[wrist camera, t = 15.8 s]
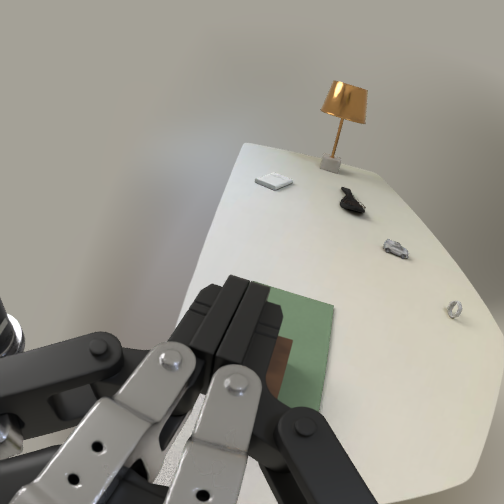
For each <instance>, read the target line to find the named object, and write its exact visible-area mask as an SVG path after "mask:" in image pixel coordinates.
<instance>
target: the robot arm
mask: <svg viewBox="0 0 504 504" xmlns="http://www.w3.org/2000/svg"><path fill="white" fill-rule="evenodd" d="M270 289H271V287H269V286H266V285H262V284H259V283H256V282H253V281H251V282H250V281H249V280H246V279H243V278H240V277H237V276H233V275H229V277H228V279H227V280H226V282H225V284H224V285H223V287H221V286H218V285H215V284H210V285H209V286H207V287H206V288H204V289H202V290H201V291H200V292H199V294H198V296H197V297H196V299H195V300H194V302H193V303H192V305H191V306H190V308H189V310H188V311H187V312H186V314H185V315H184V317H183V318H182V320H181V321H180V323H179V324H178V326H177V327H176V329H175V331H174V332H173V334H172V335H171V337H170V338H169V340H168V341H167V342H163V343H160V344H158V345H156V346H155V347H153V348H152V349H151V350H137V349H130V348H122V346H121V343H120V341H119V340H118V339H117V337H115V336H114V335H112V334H110V333H107V332H94V333H90V334H87V335H83V336H80V337H77V338H73V339H69V340H66V341H62V342H59V343H55V344H51V345H48V346H44V347H41V348H37V349H33V350H30V351H26V352H22V353H18V354H15V355H11V356H7V357H4V356H5V355H6V354H7V353H8V352H9V351H10V349H11V347H12V346H13V343H14V340H15V330H14V327H13V325H12V323H11V321H10V320H9V317H8V315H7V313H6V310H5V308H4V306H3V303H2V301H1V298H0V504H237V500H238V496H239V492H240V488H241V484H242V480H243V476H244V472H245V468H246V464H247V459H248V455H249V456H250V457H252V458H253V459H255V460H256V461H258V463H259V466H260V468H261V470H262V472H263V474H264V476H265V478H266V480H267V482H268V484H269V486H270V488H271V490H272V492H273V494H274V496H275V498H276V500H277V502H278V504H378V503H377V501H376V499H375V498H374V496H373V495H372V493H371V492H370V490H369V488H368V487H367V485H366V484H365V482H364V480H363V479H362V477H361V476H360V474H359V472H358V471H357V469H356V468H355V466H354V464H353V463H352V461H351V460H350V458H349V456H348V455H347V453H346V452H345V450H344V448H343V447H342V445H341V443H340V442H339V440H338V439H337V437H336V435H335V434H334V432H333V430H332V429H331V427H330V426H329V424H328V422H327V421H326V419H325V418H324V416H323V415H322V414H321V413H319V412H318V411H316V410H314V409H312V408H309V407H302V406H301V407H294V408H290V407H289V406H287V405H285V404H284V403H282V402H281V401H279V400H278V399H276V398H275V397H274V396H273V395H272V394H271V392H270V391H269V389H268V387H267V384H266V373H267V370H268V367H269V364H270V360H271V357H272V354H273V351H274V347H275V344H276V341H277V337H278V334H279V331H280V327H281V324H282V321H283V313H282V309H281V305H278V304H275V303H271V302H268V301H267V300H268V297H269V293H270ZM2 357H3V358H2ZM200 393H201V394H204V395H206V396H205V399H204V402H203V405H202V408H201V410H200V413H199V416H198V419H197V421H196V424H195V427H194V430H193V432H192V435H191V437H190V438H189V439H188V440H187V442H186V444H185V447H184V449H183V452H182V455H181V457H180V460H179V463H178V466H177V468H176V471H175V474H174V476H173V479H172V482H171V485H170V487H167V486H162V485H157V484H152V483H153V482H154V480H155V478H156V477H157V475H158V473H159V472H160V470H161V468H162V465H163V462H164V459H165V456H166V454H167V452H168V451H169V449H170V447H171V446H172V444H173V442H174V441H175V439H176V437H177V436H178V434H179V432H180V431H181V429H182V427H183V426H184V424H185V422H186V421H187V419H188V417H189V416H190V414H191V412H192V410H193V406H194V404H195V402H196V400H197V398H198V396H199V394H200ZM74 426H77V427H76V428H75V429H74V430H73V432H72V433H71V434H70V435H69V437H68V438H67V439H66V440H65V442H64V443H63V444H61V445H54V446H50V447H47V448H44V449H41V450H37V451H34V452H30V453H26V454H23V455H19V456H15V457H11V456H14V455H16V454H20V453H21V452H22V450H23V440H26V439H30V438H34V437H38V436H42V435H46V434H50V433H53V432H57V431H60V430H64V429H67V428H71V427H74ZM9 457H11V458H9Z"/></svg>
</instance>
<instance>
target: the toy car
mask: <svg viewBox="0 0 504 504" xmlns="http://www.w3.org/2000/svg"><path fill="white" fill-rule="evenodd" d="M384 248H385V249H386V252H387V253H389V252H391V253H393V254H396V255H398V256H401V258H402V259H404V258H408V250H407V249H405V248H404V247H402V246H401V244H400V243H398V242H395V241H392V240H390V239H387V241H385V243H384Z"/></svg>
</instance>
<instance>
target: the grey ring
mask: <svg viewBox="0 0 504 504" xmlns="http://www.w3.org/2000/svg"><path fill="white" fill-rule="evenodd" d="M456 303H457V305H458V310H457V312H456V314H455V315H454V316H453V315H452V309H453V308H454V306H455V305H456ZM447 309H448V314H449V316H450V317H452V318H455V317H458V316H459V315H460V314H461V311H462V305H461V303H460V302H459V301H451V302H450V303H449V306H448V307H447Z"/></svg>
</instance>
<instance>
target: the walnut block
mask: <svg viewBox="0 0 504 504" xmlns="http://www.w3.org/2000/svg"><path fill="white" fill-rule="evenodd" d="M292 343H293V340H291V339H288V338H285V337H282V336H278V337H277V341H276V344H275V347H274V351H273V354H272V357H271V360H270V364H269V367H268V370H267V373H266V384H267V387H268V389H269V391H270V392H271V394H272V395H273V396H274V397H275V398H276V399H278V395H279V392H280V388H281V385H282V381H283V377H284V374H285V370H286V366H287V363H288V359H289V355H290V351H291V347H292Z"/></svg>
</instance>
